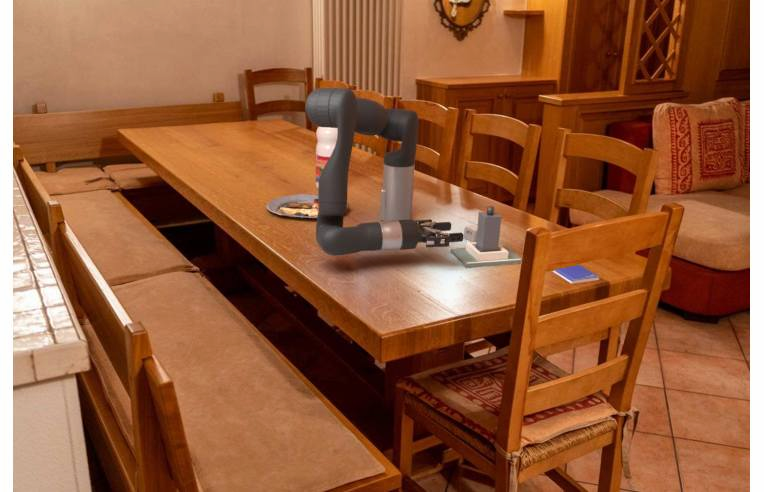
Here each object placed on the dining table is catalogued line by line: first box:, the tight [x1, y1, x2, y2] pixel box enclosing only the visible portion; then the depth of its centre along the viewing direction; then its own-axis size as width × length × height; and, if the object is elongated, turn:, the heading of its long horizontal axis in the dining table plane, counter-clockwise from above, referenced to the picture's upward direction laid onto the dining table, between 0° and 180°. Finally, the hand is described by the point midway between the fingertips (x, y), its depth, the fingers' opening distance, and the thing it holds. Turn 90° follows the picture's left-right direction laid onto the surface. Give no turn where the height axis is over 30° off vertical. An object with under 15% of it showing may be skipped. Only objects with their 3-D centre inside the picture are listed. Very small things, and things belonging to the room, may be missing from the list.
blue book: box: [552, 264, 601, 285], centre depth 175 cm, size 2×8×12 cm
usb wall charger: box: [463, 223, 478, 243], centre depth 195 cm, size 4×7×4 cm, turn 130°
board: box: [449, 242, 523, 269], centre depth 182 cm, size 16×11×3 cm
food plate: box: [266, 193, 350, 219], centre depth 215 cm, size 25×23×4 cm
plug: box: [476, 205, 502, 252], centre depth 180 cm, size 5×4×13 cm
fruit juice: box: [315, 126, 338, 189], centre depth 235 cm, size 9×9×28 cm
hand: (456, 231), depth 177 cm, fingers open, 8 cm apart
